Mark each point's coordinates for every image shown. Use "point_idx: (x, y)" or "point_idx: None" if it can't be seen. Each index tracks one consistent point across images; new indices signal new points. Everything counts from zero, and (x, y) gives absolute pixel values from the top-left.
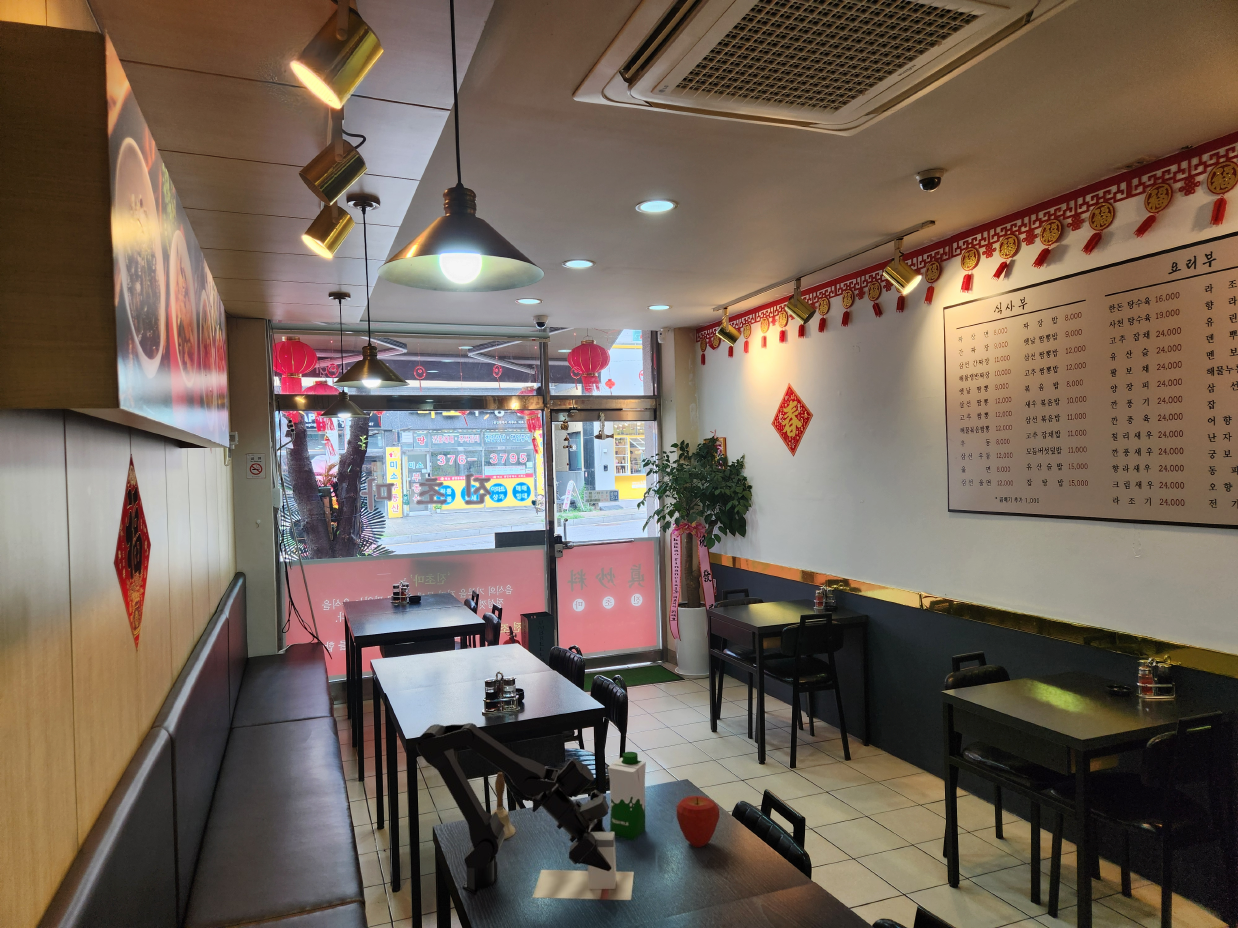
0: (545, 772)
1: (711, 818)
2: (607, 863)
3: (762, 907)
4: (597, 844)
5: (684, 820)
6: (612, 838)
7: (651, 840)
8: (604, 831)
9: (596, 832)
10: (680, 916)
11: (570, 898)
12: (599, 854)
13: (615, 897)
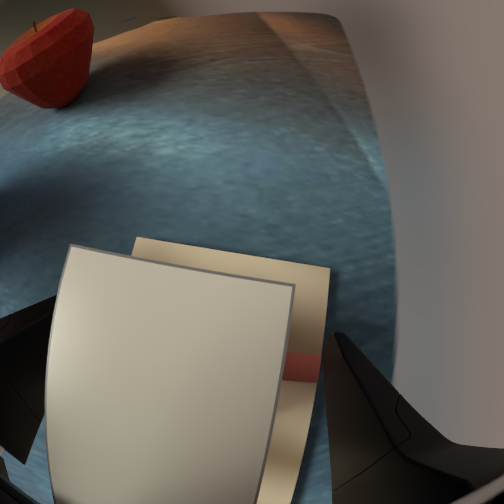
0: None
1: (90, 19)
2: (364, 358)
3: (323, 48)
4: (455, 463)
5: (50, 61)
6: (244, 292)
7: (8, 183)
8: (4, 337)
9: (59, 453)
10: (375, 155)
11: (295, 480)
12: (426, 422)
13: (310, 324)
